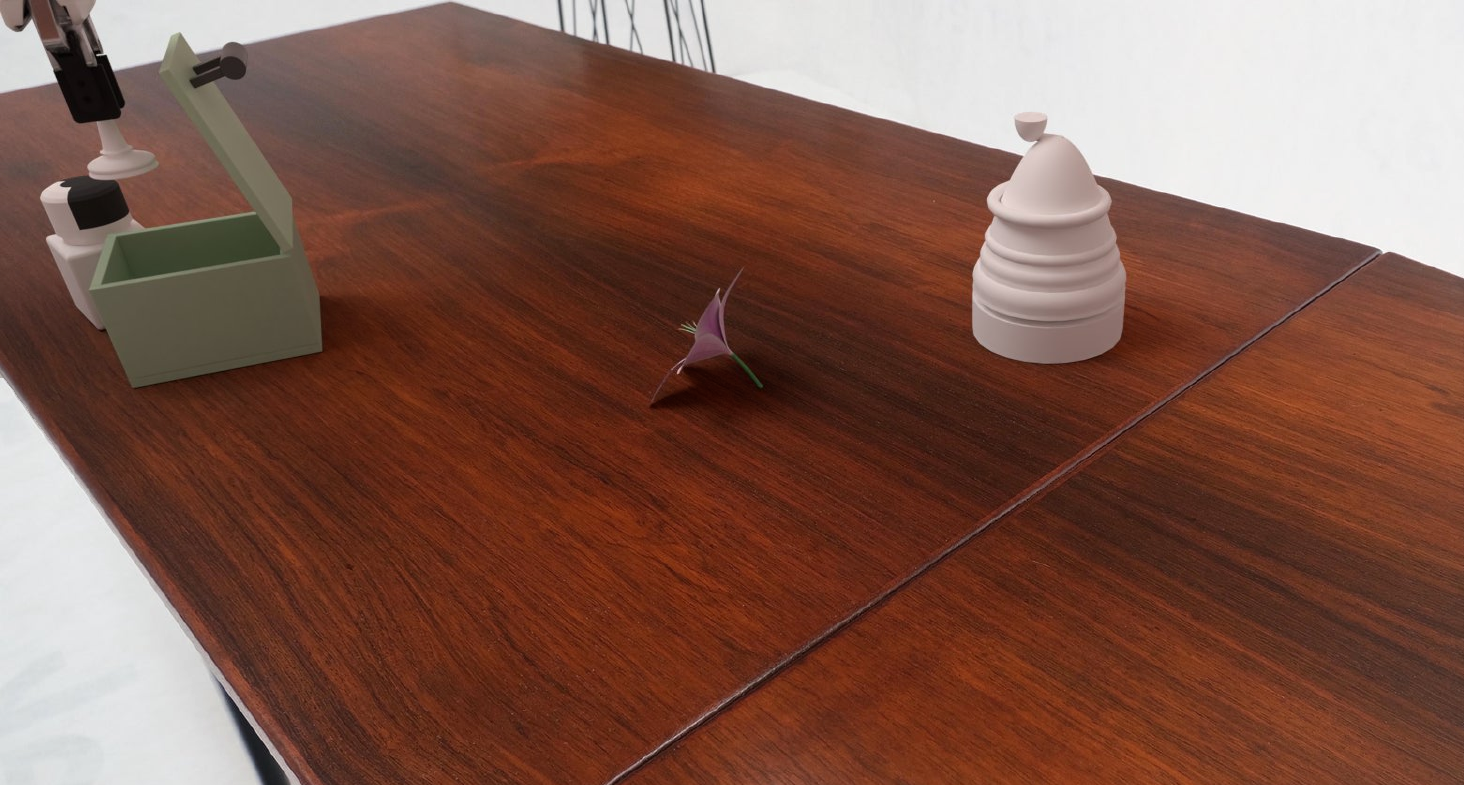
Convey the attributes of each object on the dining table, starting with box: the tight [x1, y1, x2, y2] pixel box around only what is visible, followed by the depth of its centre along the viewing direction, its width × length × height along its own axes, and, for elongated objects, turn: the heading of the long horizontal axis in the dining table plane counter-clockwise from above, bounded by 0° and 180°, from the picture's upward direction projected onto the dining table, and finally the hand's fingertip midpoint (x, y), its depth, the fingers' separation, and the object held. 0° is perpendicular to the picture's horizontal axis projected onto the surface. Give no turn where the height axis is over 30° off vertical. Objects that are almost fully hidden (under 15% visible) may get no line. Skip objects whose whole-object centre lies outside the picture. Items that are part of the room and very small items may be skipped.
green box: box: [89, 211, 323, 389], centre depth 104 cm, size 15×13×9 cm
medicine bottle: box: [39, 174, 146, 331], centre depth 109 cm, size 7×7×12 cm
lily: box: [648, 265, 764, 407], centre depth 95 cm, size 12×12×10 cm
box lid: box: [158, 31, 293, 252], centre depth 99 cm, size 16×13×5 cm
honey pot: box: [971, 111, 1127, 365], centre depth 98 cm, size 13×13×18 cm
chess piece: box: [86, 119, 160, 181], centre depth 93 cm, size 5×5×10 cm
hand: (100, 113), depth 94 cm, fingers closed on chess piece
